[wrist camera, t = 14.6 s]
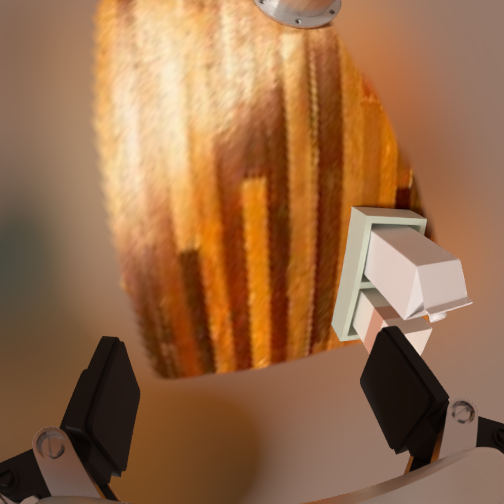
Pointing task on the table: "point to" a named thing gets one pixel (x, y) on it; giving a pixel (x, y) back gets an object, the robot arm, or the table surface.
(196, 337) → the table surface
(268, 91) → the table surface
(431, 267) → the milk carton
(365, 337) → the oat carton
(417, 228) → the crate
